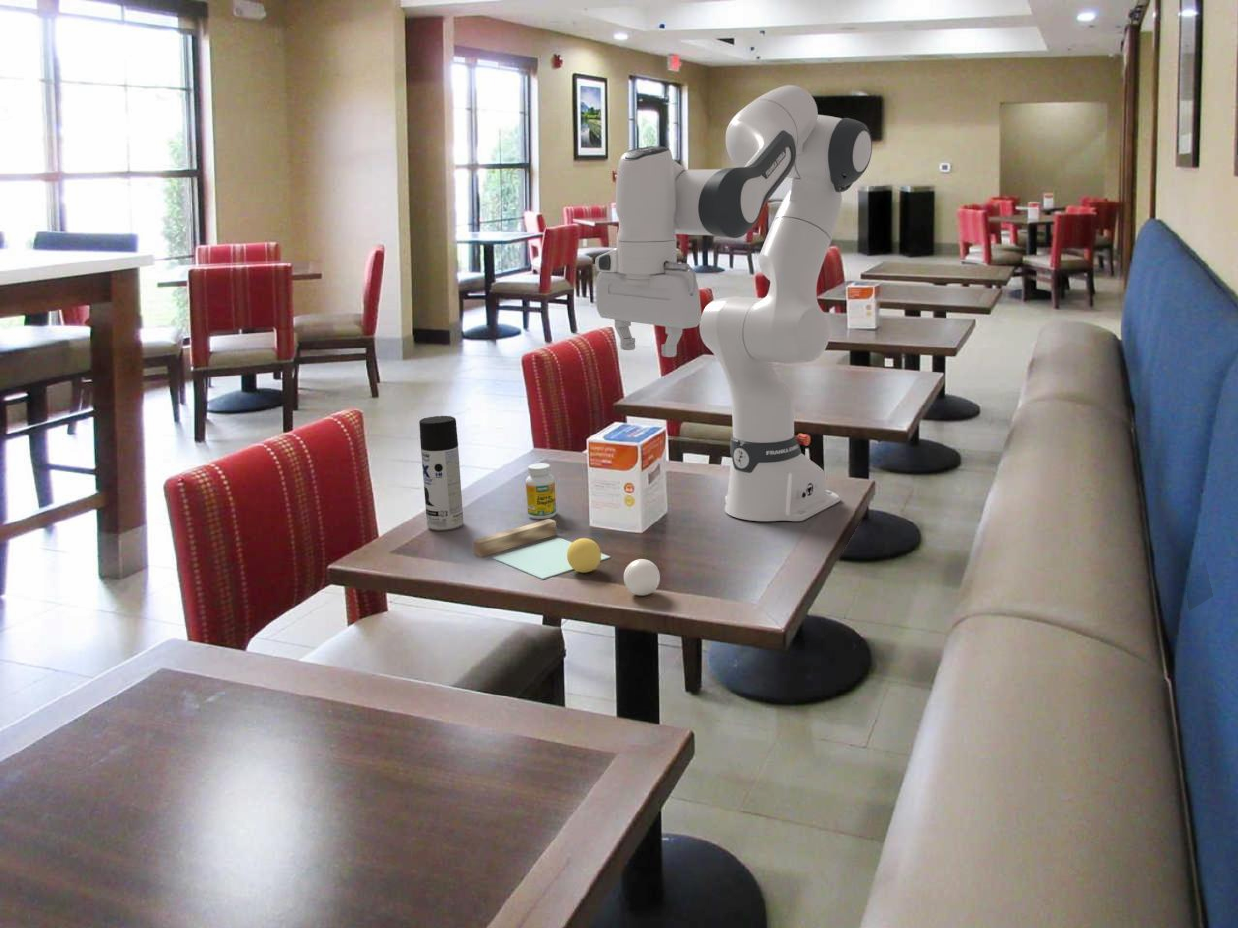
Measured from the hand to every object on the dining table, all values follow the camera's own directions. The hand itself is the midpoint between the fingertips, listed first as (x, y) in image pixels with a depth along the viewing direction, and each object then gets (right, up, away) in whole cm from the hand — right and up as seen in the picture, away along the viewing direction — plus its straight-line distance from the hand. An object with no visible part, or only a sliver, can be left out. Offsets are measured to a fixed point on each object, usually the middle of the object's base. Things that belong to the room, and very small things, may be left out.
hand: (648, 353), depth 176 cm
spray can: (-36, -28, +37) cm, 59 cm away
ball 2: (-1, -34, 0) cm, 34 cm away
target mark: (-16, -32, +18) cm, 40 cm away
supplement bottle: (-19, -27, +41) cm, 52 cm away
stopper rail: (-22, -31, +26) cm, 46 cm away
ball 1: (-10, -31, +11) cm, 35 cm away
